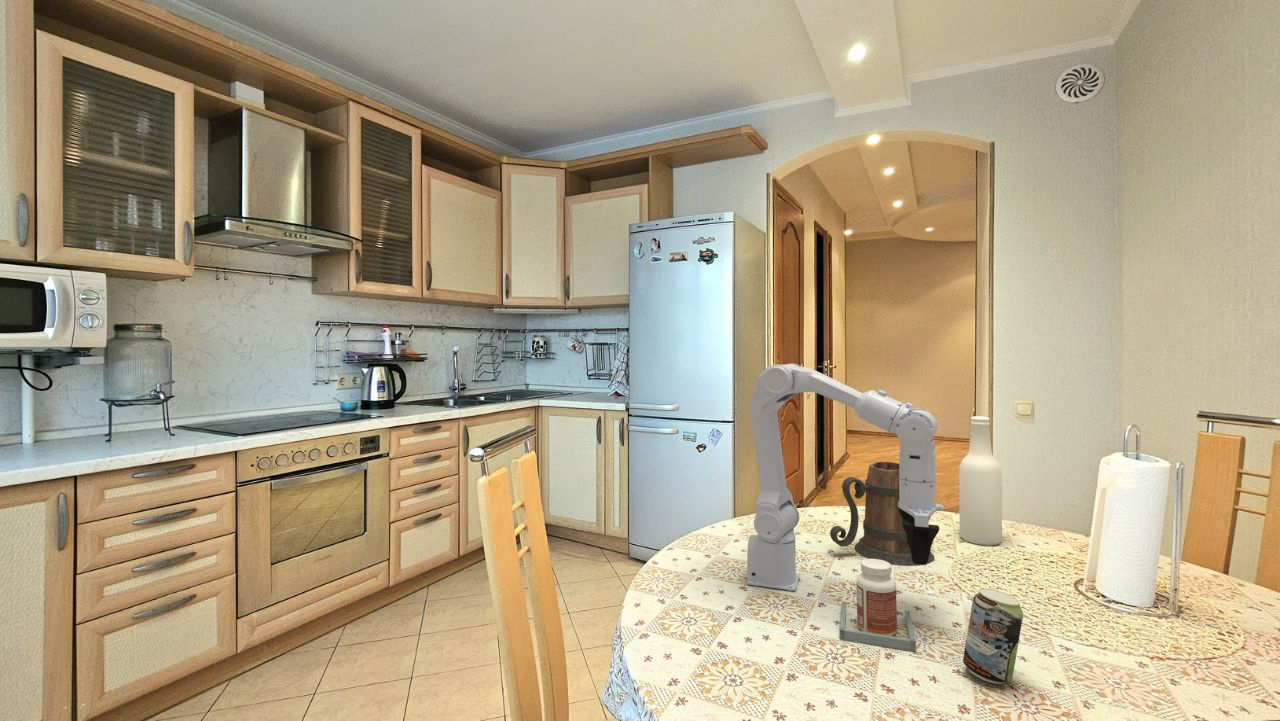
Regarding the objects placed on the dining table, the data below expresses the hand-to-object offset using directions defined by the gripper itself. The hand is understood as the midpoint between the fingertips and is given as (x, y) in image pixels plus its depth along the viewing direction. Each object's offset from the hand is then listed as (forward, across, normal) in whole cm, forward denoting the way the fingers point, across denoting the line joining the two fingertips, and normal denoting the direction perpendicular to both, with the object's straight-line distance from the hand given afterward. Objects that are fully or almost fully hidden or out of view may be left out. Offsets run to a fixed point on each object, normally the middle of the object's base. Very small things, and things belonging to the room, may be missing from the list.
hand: (917, 555), depth 98 cm
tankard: (+11, +30, +5) cm, 32 cm away
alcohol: (+11, +47, -18) cm, 51 cm away
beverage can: (+11, -17, -8) cm, 22 cm away
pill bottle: (+11, -8, +7) cm, 15 cm away
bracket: (+10, -8, +7) cm, 15 cm away
